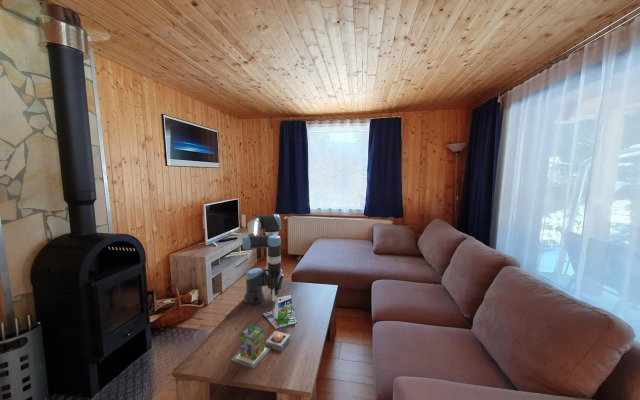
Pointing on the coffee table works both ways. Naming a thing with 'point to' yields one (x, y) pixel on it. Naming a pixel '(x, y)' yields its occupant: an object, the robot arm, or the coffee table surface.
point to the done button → (278, 337)
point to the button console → (275, 344)
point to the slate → (250, 362)
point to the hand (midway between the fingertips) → (274, 299)
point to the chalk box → (251, 342)
